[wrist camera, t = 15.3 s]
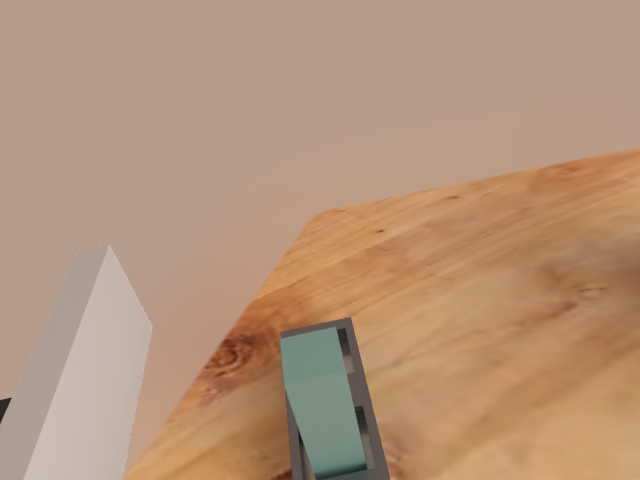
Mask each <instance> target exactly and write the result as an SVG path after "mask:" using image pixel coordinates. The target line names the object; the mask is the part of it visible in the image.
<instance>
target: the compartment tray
mask: <svg viewBox="0 0 640 480" xmlns="http://www.w3.org/2000/svg"><path fill="white" fill-rule="evenodd" d="M332 327H336V329H337V334H338V338H339V342H340V347H341V351H342V356H343V360H344V365H345V369H346V374H347V378H348V383H349V387H350V392H351V396H352V400H353V405H354V409H355V414H356V418H357V423H358V427H359V432H360V436H361V441H362V445H363V450H364V455H365V459H366V464H367V468H368V470H363V471H359V472H354V473H349V474H345V475H340V476H335V477H331V478H326V479H321V480H390V476H389V472H388V468H387V464H386V460H385V456H384V452H383V448H382V444H381V439H380V435H379V431H378V427H377V423H376V419H375V415H374V411H373V407H372V402H371V398H370V394H369V390H368V386H367V382H366V378H365V374H364V370H363V365H362V361H361V357H360V353H359V349H358V345H357V341H356V337H355V333H354V328H353V324H352V320H351V317H349V318H344V319H340V320H335V321H330V322H326V323H321V324H316V325H312V326H307V327H303V328H298V329H293V330H289V331H284V332H281V339H282V338H287V337H291V336H296V335H300V334H305V333H309V332H314V331H318V330H323V329H327V328H332ZM285 393H286V390H285ZM286 405H287V417H288V430H289V442H290V454H291V467H292V479H293V480H316V478H315V475H314V472H313V470H312V467H311V464H310V461H309V458H308V455H307V452H306V449H305V446H304V443H303V440H302V437H301V434H300V431H299V428H298V425H297V422H296V419H295V416H294V413H293V410H292V407H291V404H290V401H289V398H288V396H287V393H286Z"/></svg>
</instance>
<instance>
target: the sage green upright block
mask: <svg viewBox="0 0 640 480" xmlns="http://www.w3.org/2000/svg"><path fill="white" fill-rule="evenodd" d="M280 348H281V359H282V370H283V381H284V387H285V390H286V393H287V396H288V398H289V401H290V404H291V407H292V410H293V413H294V416H295V419H296V422H297V425H298V428H299V431H300V434H301V437H302V440H303V443H304V446H305V449H306V452H307V455H308V458H309V461H310V464H311V467H312V470H313V472H314V475H315V478H316V480H321V479H326V478H331V477H335V476H340V475H345V474H349V473H354V472H359V471H363V470H368V468H367V464H366V459H365V455H364V450H363V445H362V441H361V436H360V432H359V427H358V423H357V418H356V414H355V409H354V405H353V400H352V396H351V392H350V387H349V383H348V378H347V374H346V369H345V365H344V360H343V356H342V351H341V347H340V342H339V338H338V334H337V329H336V327H332V328H327V329H323V330H318V331H314V332H309V333H305V334H300V335H296V336H291V337H287V338H282V339H280Z"/></svg>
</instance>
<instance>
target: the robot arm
mask: <svg viewBox="0 0 640 480" xmlns="http://www.w3.org/2000/svg"><path fill="white" fill-rule="evenodd" d="M152 330H153V327H152V325H151V323H150V321H149V319H148V317H147V315H146V313H145V311H144V309H143V308H142V306H141V304H140V302H139V300H138V298H137V296H136V294H135V292H134V290H133V289H132V287H131V285H130V283H129V281H128V279H127V277H126V276H125V273H124V272H123V270H122V268H121V266H120V264H119V262H118V260H117V258H116V256H115V254H114V252H113V251H112V249H111V247H110V245H109V244H108V245H103V246H99V247H94V248H90V249H85V250H81V251H77V252H76V254H75V256H74V259H73V261H72V263H71V266H70V268H69V270H68V272H67V275H66V277H65V279H64V281H63V284H62V286H61V288H60V290H59V293H58V295H57V297H56V299H55V302H54V304H53V306H52V309H51V311H50V313H49V315H48V317H47V320H46V322H45V324H44V326H43V329H42V331H41V333H40V336H39V338H38V340H37V342H36V345H35V347H34V349H33V351H32V354H31V356H30V358H29V360H28V363H27V365H26V367H25V370H24V372H23V374H22V376H21V378H20V381H19V383H18V385H17V387H16V390H15V392H14V394H13V396H12V398H8V399H4V400H0V480H123V475H124V470H125V465H126V460H127V454H128V449H129V445H130V440H131V435H132V430H133V425H134V419H135V415H136V410H137V404H138V400H139V395H140V390H141V385H142V380H143V375H144V370H145V365H146V360H147V355H148V350H149V345H150V340H151V335H152Z"/></svg>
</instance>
